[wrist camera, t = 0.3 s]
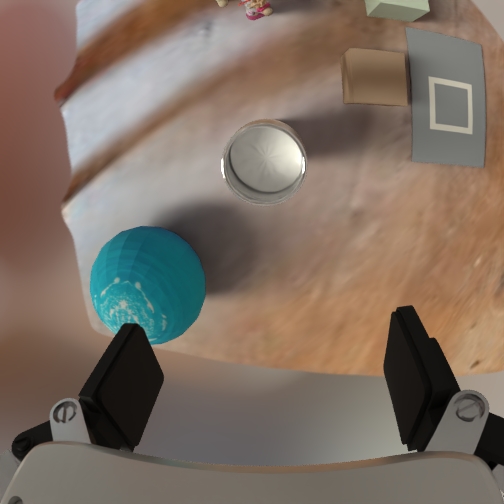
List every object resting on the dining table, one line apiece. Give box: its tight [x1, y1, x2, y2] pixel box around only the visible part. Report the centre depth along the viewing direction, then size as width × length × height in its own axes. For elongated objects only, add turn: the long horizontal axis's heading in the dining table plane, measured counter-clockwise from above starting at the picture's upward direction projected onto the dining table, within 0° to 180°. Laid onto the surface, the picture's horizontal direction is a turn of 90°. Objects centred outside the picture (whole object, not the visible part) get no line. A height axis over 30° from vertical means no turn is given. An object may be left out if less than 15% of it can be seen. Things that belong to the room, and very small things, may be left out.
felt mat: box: [405, 27, 486, 168], centre depth 31 cm, size 18×12×1 cm, turn 5°
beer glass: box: [221, 119, 307, 206], centre depth 30 cm, size 7×7×15 cm
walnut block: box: [340, 48, 407, 106], centre depth 29 cm, size 6×6×6 cm
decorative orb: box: [90, 226, 206, 345], centre depth 38 cm, size 15×15×15 cm
